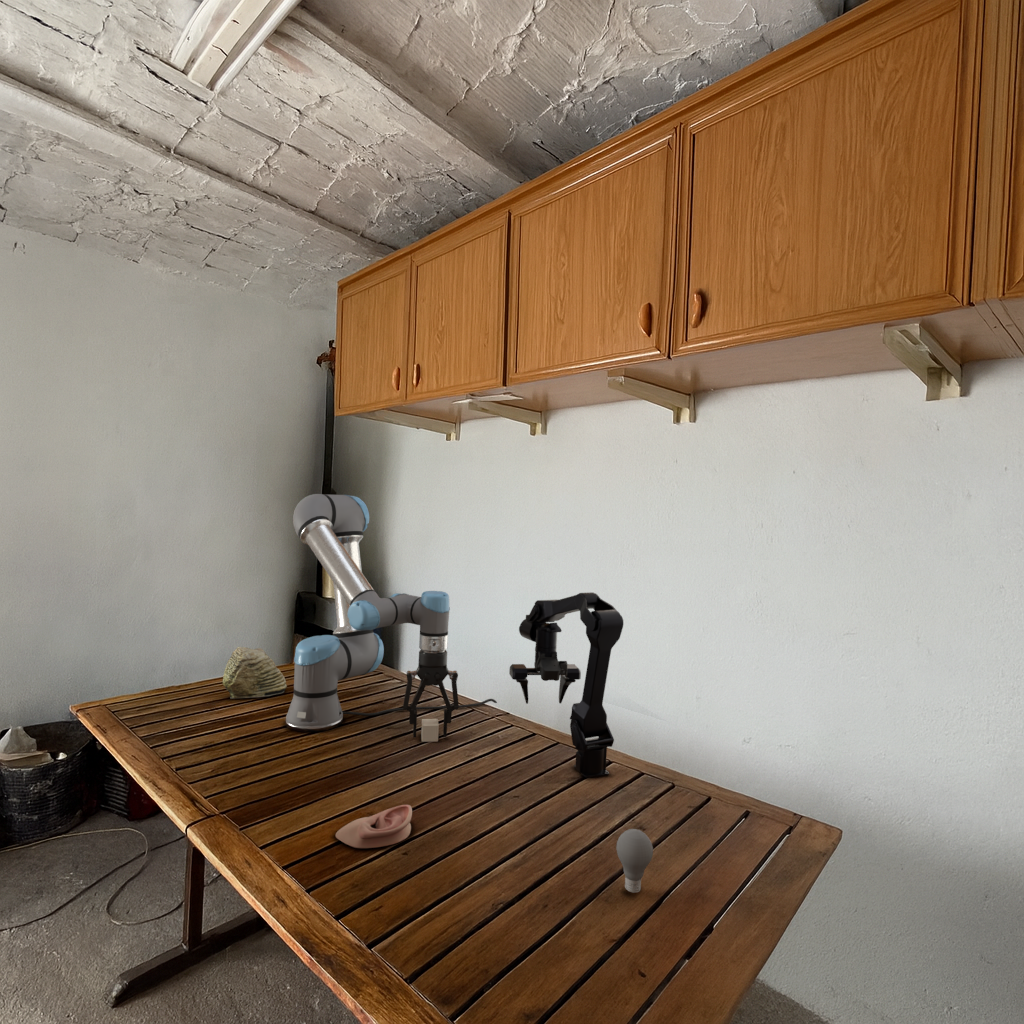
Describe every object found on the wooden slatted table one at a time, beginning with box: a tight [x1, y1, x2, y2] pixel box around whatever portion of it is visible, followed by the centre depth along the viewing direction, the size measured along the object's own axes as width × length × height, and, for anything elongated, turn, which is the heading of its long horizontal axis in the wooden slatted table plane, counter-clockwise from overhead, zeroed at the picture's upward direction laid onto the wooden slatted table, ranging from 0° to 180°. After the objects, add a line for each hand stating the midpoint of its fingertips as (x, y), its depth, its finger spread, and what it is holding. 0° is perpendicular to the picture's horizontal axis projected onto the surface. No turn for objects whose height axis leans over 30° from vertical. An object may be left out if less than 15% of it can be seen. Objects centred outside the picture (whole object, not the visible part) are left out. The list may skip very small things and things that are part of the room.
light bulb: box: [615, 828, 654, 894], centre depth 106 cm, size 6×6×10 cm
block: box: [420, 718, 440, 743], centre depth 169 cm, size 4×5×4 cm
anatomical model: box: [335, 804, 413, 849], centre depth 120 cm, size 13×4×12 cm
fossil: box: [222, 646, 288, 699], centre depth 198 cm, size 9×18×15 cm, turn 132°
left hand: (429, 735), depth 169 cm, fingers open, 7 cm apart
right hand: (543, 703), depth 172 cm, fingers open, 9 cm apart
